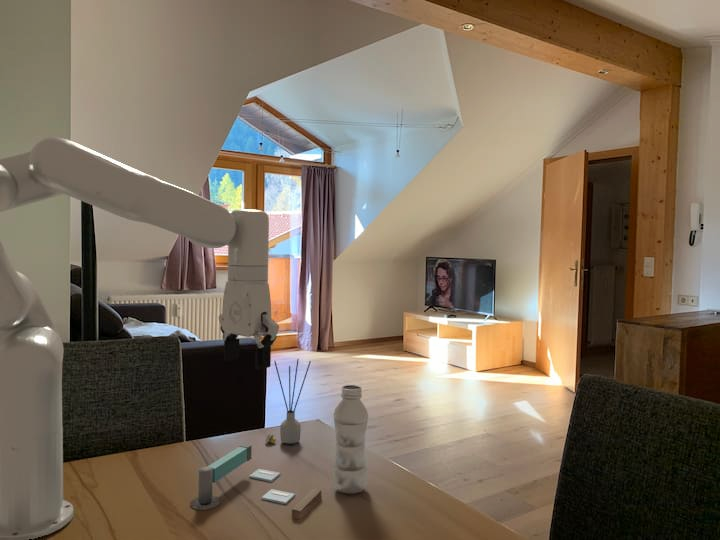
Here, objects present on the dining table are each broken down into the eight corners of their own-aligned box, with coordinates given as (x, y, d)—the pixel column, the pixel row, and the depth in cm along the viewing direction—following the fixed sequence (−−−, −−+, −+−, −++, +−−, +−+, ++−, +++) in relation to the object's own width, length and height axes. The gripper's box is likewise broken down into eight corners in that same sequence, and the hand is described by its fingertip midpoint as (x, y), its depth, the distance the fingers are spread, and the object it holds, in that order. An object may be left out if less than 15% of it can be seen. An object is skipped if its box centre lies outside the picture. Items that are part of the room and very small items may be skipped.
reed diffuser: (308, 438, 132) (310, 356, 130) (310, 449, 125) (311, 362, 124) (265, 439, 130) (266, 356, 129) (264, 451, 123) (266, 363, 122)
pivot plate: (184, 506, 97) (184, 505, 97) (202, 494, 102) (202, 493, 102) (208, 512, 95) (208, 511, 95) (226, 499, 100) (226, 498, 100)
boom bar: (206, 504, 97) (207, 473, 97) (195, 502, 98) (195, 470, 97) (252, 471, 111) (252, 444, 110) (241, 469, 112) (242, 442, 111)
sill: (291, 517, 94) (292, 509, 94) (313, 496, 102) (313, 488, 102) (300, 519, 93) (300, 511, 93) (321, 498, 101) (321, 490, 101)
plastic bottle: (363, 500, 101) (366, 393, 100) (328, 496, 102) (330, 390, 101) (370, 485, 107) (372, 384, 106) (336, 481, 109) (338, 381, 107)
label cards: (229, 492, 103) (229, 489, 103) (258, 470, 113) (258, 468, 113) (285, 504, 99) (285, 501, 99) (311, 480, 108) (311, 478, 108)
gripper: (205, 272, 107) (204, 359, 108) (261, 278, 96) (259, 375, 97) (237, 271, 113) (235, 354, 114) (293, 277, 101) (291, 368, 102)
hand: (246, 363), depth 105 cm, fingers open, 9 cm apart
